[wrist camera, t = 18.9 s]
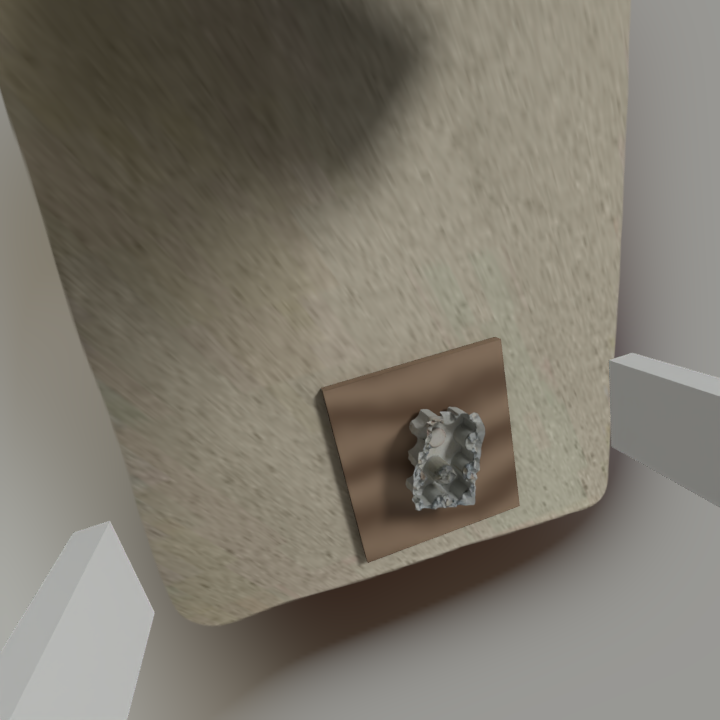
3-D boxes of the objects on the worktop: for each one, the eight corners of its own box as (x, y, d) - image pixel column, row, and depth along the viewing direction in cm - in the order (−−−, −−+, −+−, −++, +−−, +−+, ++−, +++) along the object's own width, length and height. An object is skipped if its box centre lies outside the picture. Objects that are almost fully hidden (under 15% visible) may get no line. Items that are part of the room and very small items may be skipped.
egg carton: (409, 405, 44) (427, 419, 40) (470, 403, 47) (493, 416, 43) (399, 498, 46) (415, 519, 43) (458, 491, 49) (478, 511, 45)
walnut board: (321, 387, 43) (323, 391, 42) (494, 336, 47) (500, 339, 46) (365, 555, 50) (367, 562, 49) (513, 500, 54) (519, 505, 53)
